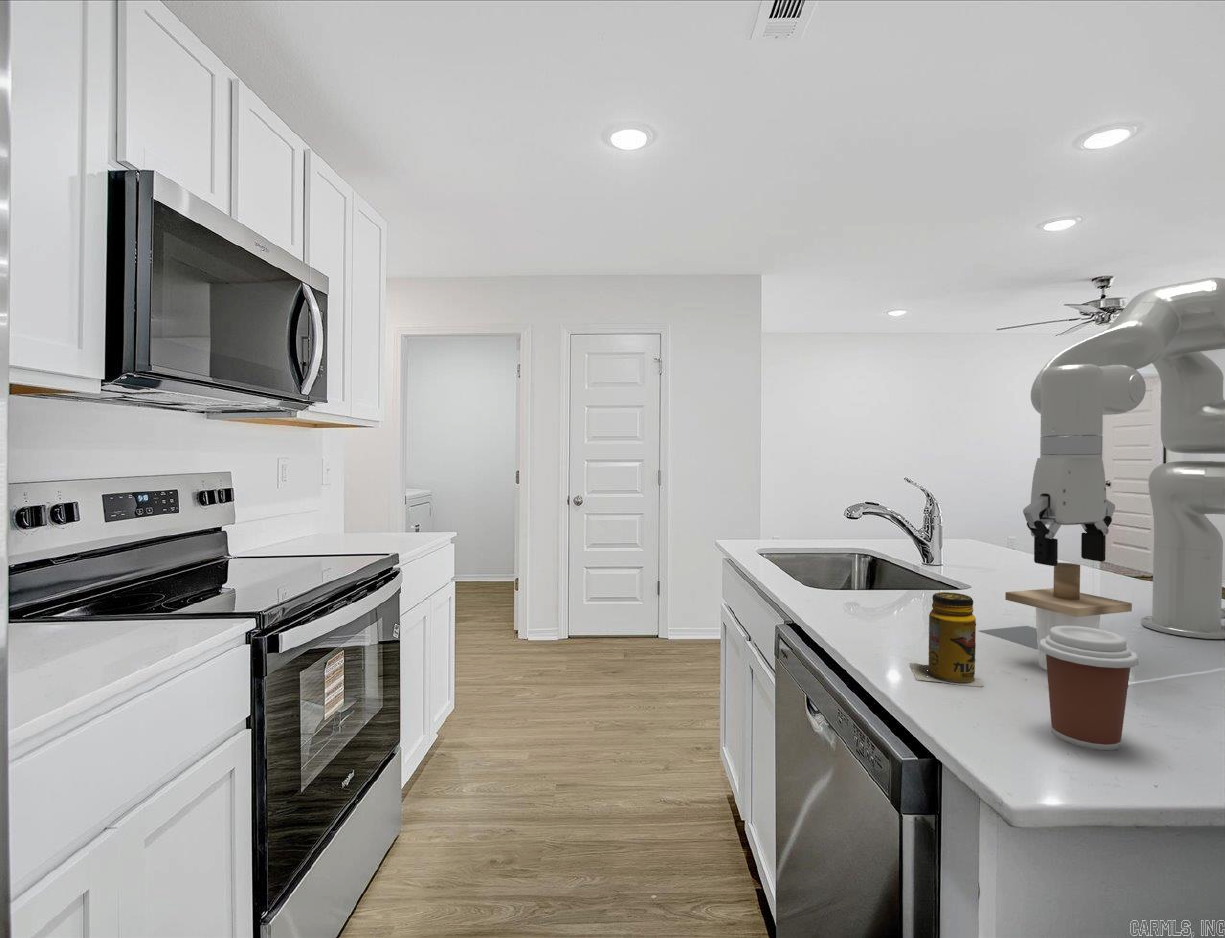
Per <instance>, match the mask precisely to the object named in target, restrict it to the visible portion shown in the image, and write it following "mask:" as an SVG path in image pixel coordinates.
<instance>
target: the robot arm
mask: <svg viewBox="0 0 1225 938" xmlns="http://www.w3.org/2000/svg"><path fill="white" fill-rule="evenodd" d="M1224 349H1225V278H1224V277H1207V278H1201V279H1195V280H1191V281H1185V282H1180V283H1175V284H1174V283H1173V284H1169V285H1163V286H1157V287H1154V288H1149V289H1148V290H1145V291H1143V292H1140V293H1138V294H1137V295H1135V296H1134V297H1133V298H1131V300H1130V301H1129V302H1128V304H1127V305H1126V306H1125V307H1124V308H1123V309H1122V311H1120V313H1119V315H1118V316H1117V317H1116V318H1115V319H1114V320H1113V321H1112V323H1111V324H1110V325H1109V326H1108V328H1106V329H1105V330H1103V331H1100V332H1098V333H1095V334H1093V335H1092V336H1090V337H1088V338H1086V339H1083V340H1082V341H1080V342H1077V343H1075V344H1073V345H1071V346H1069V347H1067V348H1066V349H1063V350H1061V351H1060V352H1059V353H1057V354H1055V355H1054V356H1053V357H1052V358H1051V359H1049V360H1048V362H1047V363H1046V364H1045V365H1044V366H1043V368H1041V370H1040V371H1039V372H1038V374H1037V375H1036V377H1035V379H1034V381H1033V383H1032V386H1031V391H1030V401H1031V405H1032V407H1033V409H1034V410H1035V411H1036V412H1037V413H1038V414H1040V441H1039V442H1040V445H1039V446H1040V447H1039V448H1040V449H1039V451H1040V453H1039V456H1040V457H1037V459H1036V462H1035V466H1034V471H1033V476H1032V485H1031V492H1030V493H1031V495H1030V503H1029V504H1028V505H1027V506H1026V507H1024V508H1023V510H1022V514H1023V515H1024V518H1025V521H1026V527H1027V528H1028V529H1029V530H1030V534H1031V537H1033V538H1034V539H1033V546H1034V547H1033V562H1034V563H1035V564H1039V565H1043V566H1045V565H1046V566H1050V567H1054V566H1056V565H1057V563H1059V562H1058V561H1059V560H1058V557H1059V555H1058V554H1059V553H1058V550H1059V549H1058V548H1059V547H1058V543H1059V542H1058V539H1059V538H1055V536H1056V535H1057V533H1058V531H1059V529H1060V528H1061V526H1074V525H1075V526H1076V525H1080V526H1081V527H1082V529H1083V530H1084V532H1081V537H1080V538H1081V540H1080V541H1081V546H1080V547H1081V548H1080V549H1081V552H1080V553H1081V554H1080V555H1081V559H1083V560H1088V561H1094V562H1105V561H1106V546H1107V545H1106V543H1107V542H1106V541H1107V540H1106V539H1107V538H1106V536H1107V535H1108V534H1109V533H1110V532H1109V531H1110V530H1109V527H1110V525H1111V524H1112V522H1113V518H1112V517H1113V515H1114V513H1115V510H1116V505H1115V504H1114V503H1113V502H1111V501H1110V500H1109V499H1107V483H1106V473H1105V466H1104V462H1103V445H1104V443H1103V441H1104V440H1103V429H1104V426H1103V425H1104V421H1103V419H1104V418H1103V416H1108V415H1109V416H1110V415H1120V414H1125V413H1128V412H1131V411H1134V409H1136V408H1137V407H1138V406H1139V405H1141V403H1142V401H1143V400H1144V398H1145V395H1146V390H1147V387H1146V381H1145V379H1144V376H1143V375H1142V374H1141V373H1140V371H1139V369H1143V368H1145V367H1147V366H1149V365H1151V364H1152V365H1153V366H1154V368H1155V370H1156V372H1157V373H1158V376H1159V379H1160V388H1161V389H1160V393H1161V394H1160V395H1161V396H1160V439H1161V443H1162V446H1163V447H1164V448H1165V449H1166V450H1167V451H1170V452H1174V453H1178V454H1193V455H1194V454H1197V455H1200V454H1204V455H1206V454H1209V455H1210V454H1211V455H1212V454H1216V455H1217V454H1219V455H1221V454H1222V455H1223V454H1225V398H1224V373H1223V371H1222V370H1221V368H1220V367H1219V365H1217V364H1216V362H1214V361H1213V360H1212V359H1211V358H1210V357H1208V356H1207V355H1206V354H1204V353H1203V352H1208V351H1215V350H1217V351H1219V350H1224ZM1147 482H1148V492H1149V498H1150V502H1151V508H1152V516H1153V553H1152V554H1153V557H1152V559H1153V563H1152V566H1153V567H1152V608H1151V609H1152V611H1151V615H1148V616H1143V617H1141V625H1142V626H1143V627H1146V628H1147V629H1151V630H1154V631H1157V632H1161V633H1165V634H1171V635H1176V636H1181V637H1187V638H1195V639H1205V640H1225V625H1222V620H1224V619H1225V607H1222V599H1223V598H1222V597H1223V594H1222V593H1223V563H1224V562H1223V560H1224V559H1223V555H1224V554H1223V553H1224V552H1223V551H1224V541H1223V536H1222V534H1221V532H1220V531H1219V529H1218V528H1217V527H1216V526H1215V525H1214V524H1213V522H1211V520H1210V519H1209V518H1208V517H1207V516H1206V515H1225V461H1219V460H1218V461H1215V460H1206V461H1205V460H1178V461H1170V462H1166V463H1162V464H1160V465H1158V466H1156V467H1155V468H1153V470H1152V471H1151V472H1150V474H1149V476H1148V481H1147ZM1047 526H1048V527H1047Z"/></svg>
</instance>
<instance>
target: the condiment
mask: <svg viewBox="0 0 1225 938" xmlns="http://www.w3.org/2000/svg"><path fill="white" fill-rule="evenodd" d="M931 598H932V603H931V607H932V609H931V611H930V612H929V617H928V664H921V663H916V662H909V666H910V668H911V671H912V670H914V671H912V673H914V674H913V676H914V677H915V678H916V681H925V682H935V683H946V684H949V685H950V684H951V685H957V686H958V685H959V686H965V687H966V686H967V687H971V686H972V687H978V688H979V687H980V688H981V687H983V684H982V683H981V682H980V680H979V679H978V678H977V677H976V675H975V674H976V670H975V669H976V646H977V645H976V635H977V634H976V633H977V632H976V626H977V623H976V621H977V619H976V617H975V615H974V614H973V613H974V599H973V598H972V597H971V596H970V595H966V594H963V593H959V592H946V591H943V592H941V591H940V592H935V593H934V594H933V595H932V596H931ZM927 670H928V671H927ZM927 676H928V677H927Z"/></svg>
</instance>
